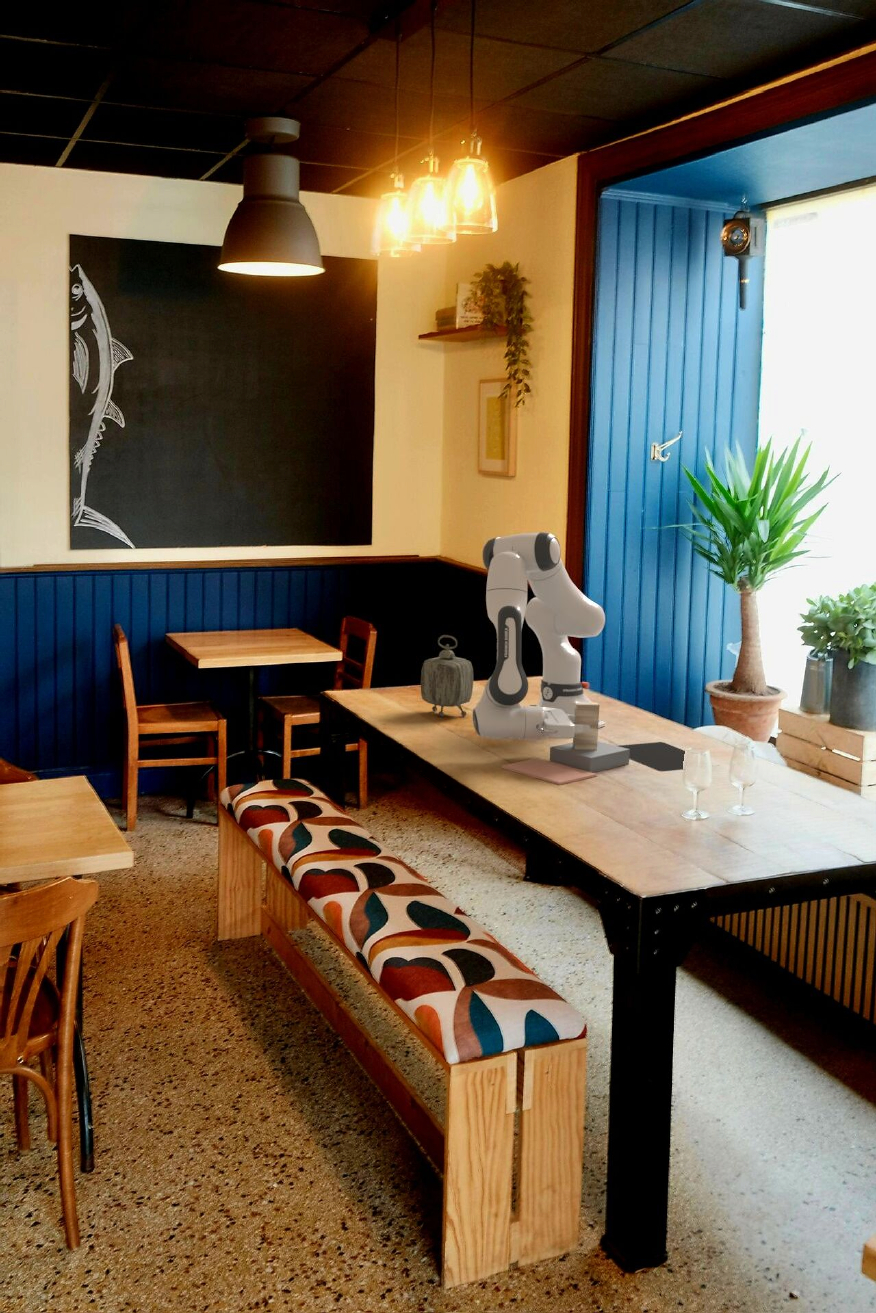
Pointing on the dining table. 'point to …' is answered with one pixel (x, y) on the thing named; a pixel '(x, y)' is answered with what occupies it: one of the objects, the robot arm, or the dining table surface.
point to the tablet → (657, 755)
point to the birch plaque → (590, 716)
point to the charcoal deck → (590, 756)
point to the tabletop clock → (447, 680)
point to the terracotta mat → (549, 771)
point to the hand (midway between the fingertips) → (586, 723)
